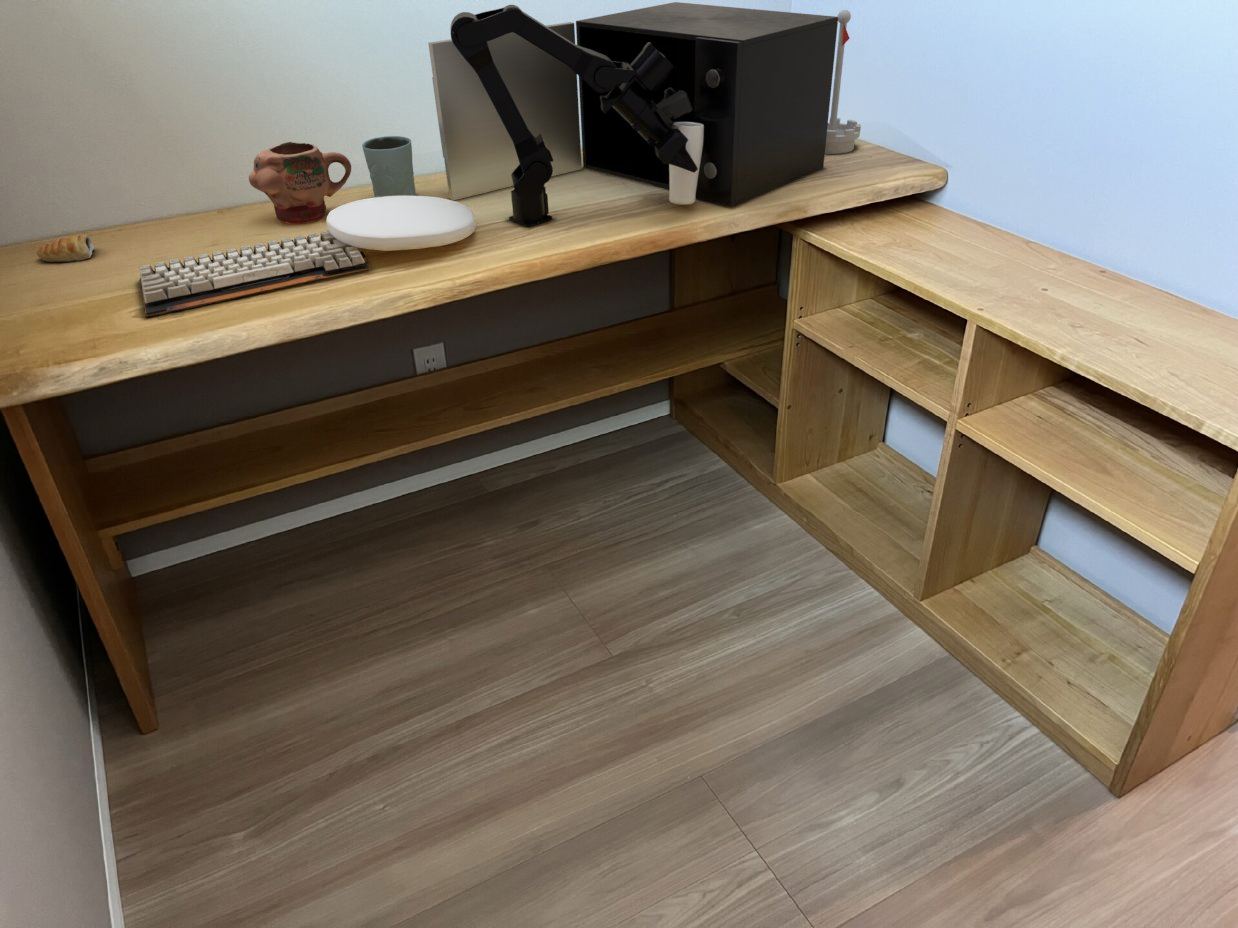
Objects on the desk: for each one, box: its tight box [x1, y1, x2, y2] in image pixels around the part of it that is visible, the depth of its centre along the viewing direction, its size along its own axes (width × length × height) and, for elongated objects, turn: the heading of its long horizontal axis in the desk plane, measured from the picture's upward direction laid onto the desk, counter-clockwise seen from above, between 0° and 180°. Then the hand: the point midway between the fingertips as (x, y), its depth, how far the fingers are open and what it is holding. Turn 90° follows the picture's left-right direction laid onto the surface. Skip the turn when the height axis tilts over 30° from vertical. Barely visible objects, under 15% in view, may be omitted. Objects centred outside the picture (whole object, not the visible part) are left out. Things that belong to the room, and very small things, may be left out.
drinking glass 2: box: [668, 122, 704, 206], centre depth 177 cm, size 7×7×15 cm
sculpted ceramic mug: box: [248, 141, 352, 225], centre depth 181 cm, size 20×12×14 cm, turn 117°
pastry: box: [35, 233, 95, 263], centre depth 168 cm, size 9×7×4 cm
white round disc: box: [326, 195, 477, 252], centre depth 169 cm, size 28×6×27 cm
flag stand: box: [825, 9, 862, 155], centre depth 207 cm, size 13×13×30 cm
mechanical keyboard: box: [138, 229, 370, 318], centre depth 158 cm, size 38×19×3 cm, turn 118°
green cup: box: [361, 135, 417, 198], centre depth 189 cm, size 10×10×12 cm
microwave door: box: [427, 21, 583, 201], centre depth 192 cm, size 7×34×31 cm, turn 127°
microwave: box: [575, 1, 839, 208], centre depth 195 cm, size 35×44×31 cm
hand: (692, 165), depth 178 cm, fingers closed on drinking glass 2, 7 cm apart
